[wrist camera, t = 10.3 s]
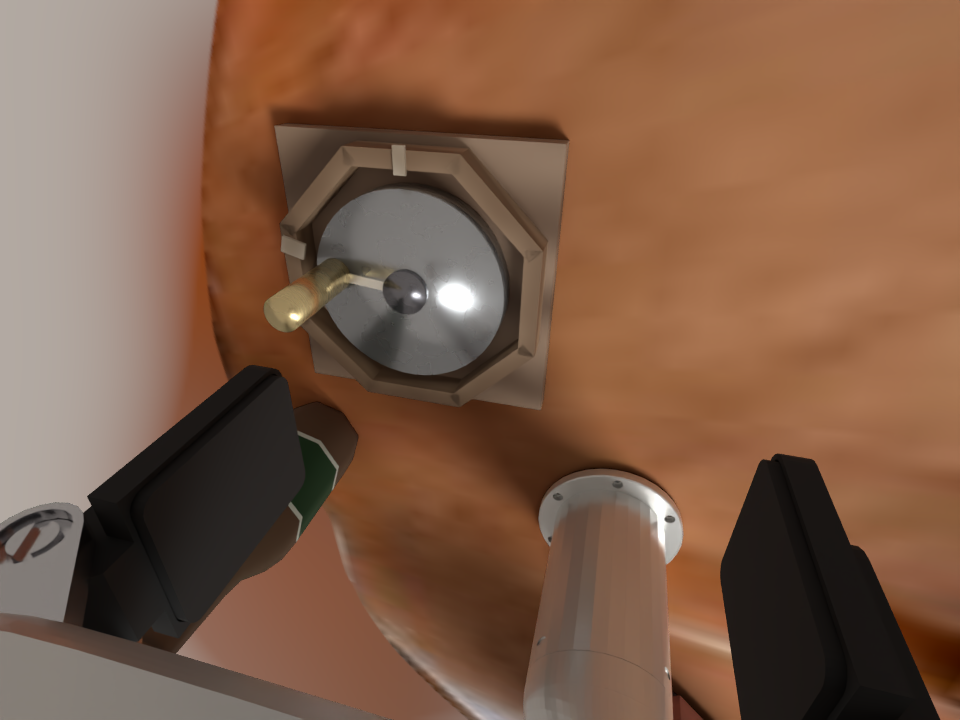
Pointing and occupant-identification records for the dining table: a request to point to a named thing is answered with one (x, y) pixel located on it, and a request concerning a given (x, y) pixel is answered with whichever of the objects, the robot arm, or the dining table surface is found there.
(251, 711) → the robot arm
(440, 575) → the dining table surface
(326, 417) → the beer bottle
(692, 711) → the potted plant
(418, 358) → the dial
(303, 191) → the dial housing
